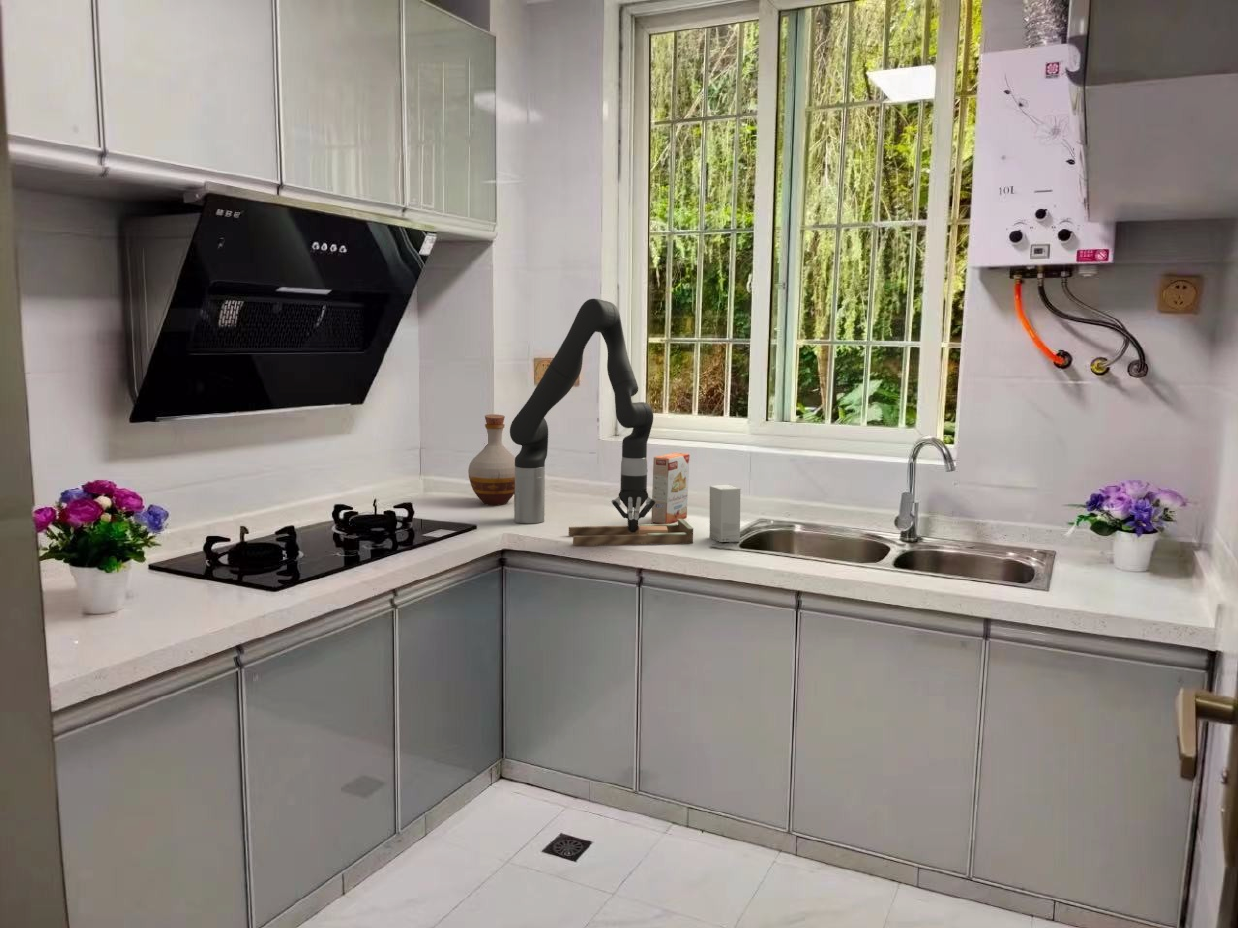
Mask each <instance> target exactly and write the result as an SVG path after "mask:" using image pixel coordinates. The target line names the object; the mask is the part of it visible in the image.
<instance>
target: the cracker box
mask: <svg viewBox="0 0 1238 928" xmlns="http://www.w3.org/2000/svg"><path fill="white" fill-rule="evenodd" d="M652 463H653V465H652V466H653V468H652V491H651V493H652V495H651V499H653V500H654V501H655V504H654V506H653V507H652V508H651V517H650V518H651V520H650V522H651V523H652V524H673V523H674V522H678V519H684V520H685V519H686V518H687V517H688V498H689V495H688V493H689V477H690V476H689V475H690V474H689V473H690V454H689V453H686V452H685V453H683V452H671V453H667V454H661V455H658V456H653V461H652Z"/></svg>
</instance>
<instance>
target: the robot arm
mask: <svg viewBox="0 0 1238 928" xmlns="http://www.w3.org/2000/svg"><path fill="white" fill-rule="evenodd" d="M623 330H624V329H623V325H622V320H621V315H620V312H619V309H618V307H617V306H616V305H615V304H614V303H612V302H611V301H607V300H603V299H599V298H589V299H587V300H586V301H585V302H584V303H583V304H582V305H581V306H580V307H579V309H578V312H577V313H576V315H575V318H574V319H573V322H572V325H571V326H570V329H569V330H568V333H567V334H566V337H565V339H564V340H563V342H562V343H561V345H560V347H559V348H558V350H557V352H556V354H555V355H554V357H553V358H552V360H551V361H550V363H549V365H548V367H547V368H546V369H545V371H544V373H543V374H542V376H541V378H540V380H539V382H538V383H537V385H536V386H535V388H534V390H533V392H532V394H531V395H530V397H529V398H528V400H527V401H526V402H525V404H524V405H523V406H522V408H521V409H520V410H519V412H518V413H517V414H516V416H515V417H514V418H513V420H512V422H511V423H510V425H509V426H510V427H509V435H510V439H511V440H512V442H513V443H515V444H517V445H519V446H521V449H520V451H519V452H518V454H517V455H516V456H514V457H515V489H514V495H513V497H514V501H513V504H514V505H513V510H514V512H513V513H514V514H513V515H514V516H513V519H514V523H515V524H516V523H517V524H519V523H520V524H539V523H543V522H544V521H545V515H546V513H545V500H546V499H545V497H546V496H545V492H546V491H545V488H546V487H545V480H546V479H545V478H546V477H545V472H546V471H545V470H546V469H545V468H546V467H545V466H546V465H545V463H546V460H547V457H548V449H549V447H548V446H549V427H548V426H549V425H548V422H547V421H546V419H545V417H546V415H547V414H548V413H549V412H550V411H551V410H552V409H553V408H554V407H555V405H557V404H559V402H560V401H561V400H563V398H564V397H566V396H567V394H569V392H570V391H571V389H572V388H573V386H574V385H575V383H576V382H577V380H578V379H579V377H580V375H581V371H582V368H583V359H584V358H583V357H584V351H585V348H586V346H587V344H588V343H589V341H590V339H591V338H592V337H593V335H595V333H600V334H601V336H602V338H603V340H604V343H605V345H606V349H607V362H606V368H607V369H606V371H607V375H608V379H609V381H610V385H611V387H612V391H613V393H614V405H615V406H614V407H615V415H616V419H617V422H618V424H619V425H620V426H621V427H622V428H625V429H632V431H631V433H630V434H628V435H626V436H624V438H623V439H622V441H621V443H622V444H621V447H622V448H621V460H620V490H619V492H618V496H617V497H616V498H614V499H612V500H611V504H612V505H613V506H614V507H615V509H616V510H617V512H618V513H619V514H620V515H621V516H622V518H624V519H627V526H628V530H629V531H630V532H631V533H636V531H637V530H638V525H639V520H640V519H643V518H645V517H646V516H647V514H649V512H650V511H651V510H652V507H653V506H654V504H655V501H654V500H653V499H652V497H650V496H649V493H648V490H647V489H648V488H647V487H648V460H647V459H648V458H647V455H648V454H647V453H648V449H647V448H648V442H649V441H648V440H649V437H650V435H651V434H650V433H651V431H652V427H653V423H654V411H653V408H652V407H651V405H650V404H649V403H647V402H644V401H643V402H642V401H641V402H633V401H632V397H634V396H635V395H636V394H638V393H639V386H638V383H637V380H636V377H635V374H634V371H633V368H632V365H631V363H630V362H631V361H630V359H629V355H628V352H627V351H628V350H627V347H626V341H625V336H624V331H623ZM621 503H622V504H623V506H624V507H625V508H626V512H625V511H624V510H623V509H622V507H621ZM644 503H645V505H644ZM643 505H644V507H643ZM641 507H643V508H642V509H641Z"/></svg>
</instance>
